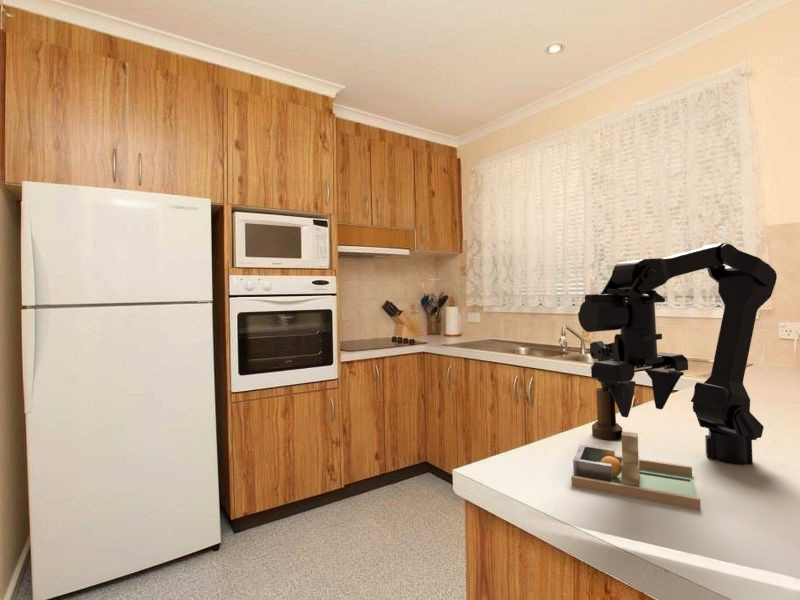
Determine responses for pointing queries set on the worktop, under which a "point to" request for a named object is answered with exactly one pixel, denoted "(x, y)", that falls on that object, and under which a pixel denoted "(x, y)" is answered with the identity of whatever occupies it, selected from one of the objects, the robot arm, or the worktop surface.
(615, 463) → the ball
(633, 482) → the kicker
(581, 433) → the worktop surface
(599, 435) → the pepper mill
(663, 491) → the pitch
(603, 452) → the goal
